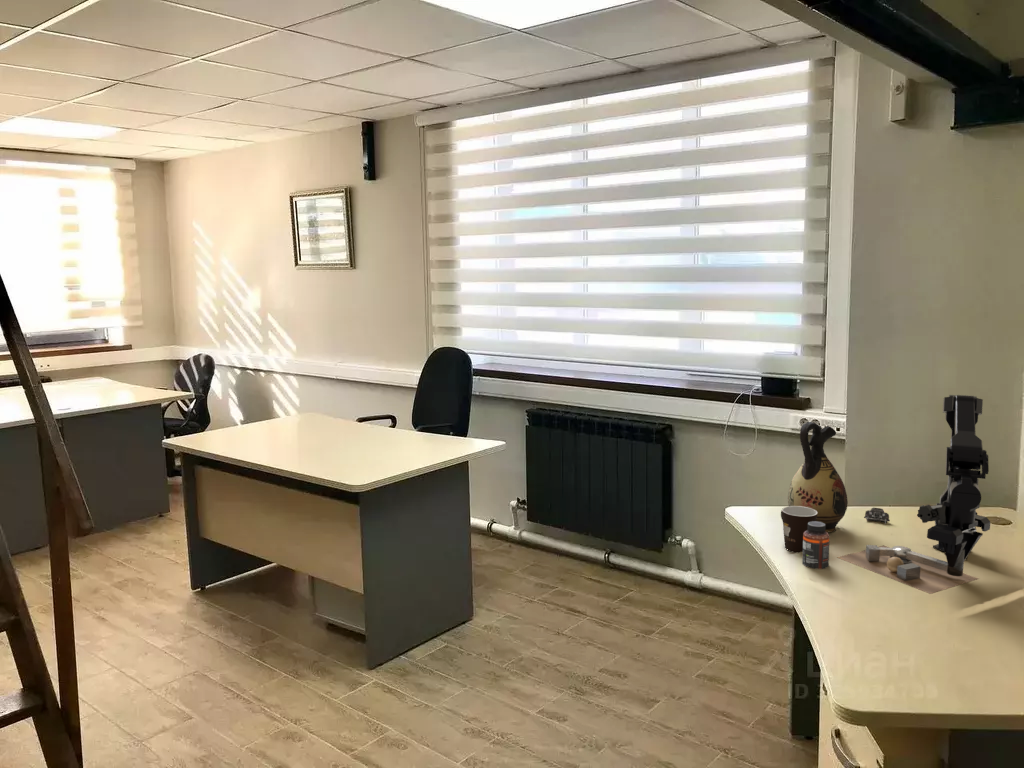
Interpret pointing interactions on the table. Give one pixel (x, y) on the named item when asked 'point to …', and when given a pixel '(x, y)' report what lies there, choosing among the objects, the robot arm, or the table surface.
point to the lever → (915, 558)
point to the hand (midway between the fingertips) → (955, 564)
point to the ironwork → (908, 570)
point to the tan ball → (894, 563)
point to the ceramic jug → (818, 479)
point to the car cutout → (877, 515)
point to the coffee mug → (796, 525)
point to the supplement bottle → (816, 546)
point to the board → (927, 582)
